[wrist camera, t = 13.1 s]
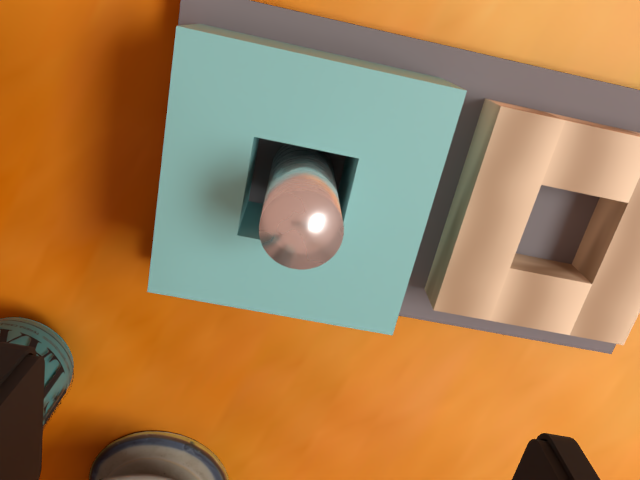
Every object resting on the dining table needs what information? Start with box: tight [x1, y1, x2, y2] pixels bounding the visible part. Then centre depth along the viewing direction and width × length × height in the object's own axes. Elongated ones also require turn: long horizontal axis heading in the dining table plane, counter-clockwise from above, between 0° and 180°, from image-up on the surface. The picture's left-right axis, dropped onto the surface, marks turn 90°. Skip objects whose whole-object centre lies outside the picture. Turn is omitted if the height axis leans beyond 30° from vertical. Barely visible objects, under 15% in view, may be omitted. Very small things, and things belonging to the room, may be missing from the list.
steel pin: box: [259, 144, 344, 270], centre depth 25 cm, size 3×3×9 cm
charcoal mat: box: [178, 0, 640, 354], centre depth 31 cm, size 28×15×2 cm, turn 78°
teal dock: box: [147, 24, 467, 335], centre depth 27 cm, size 12×12×5 cm
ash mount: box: [425, 98, 640, 345], centre depth 29 cm, size 11×11×2 cm
